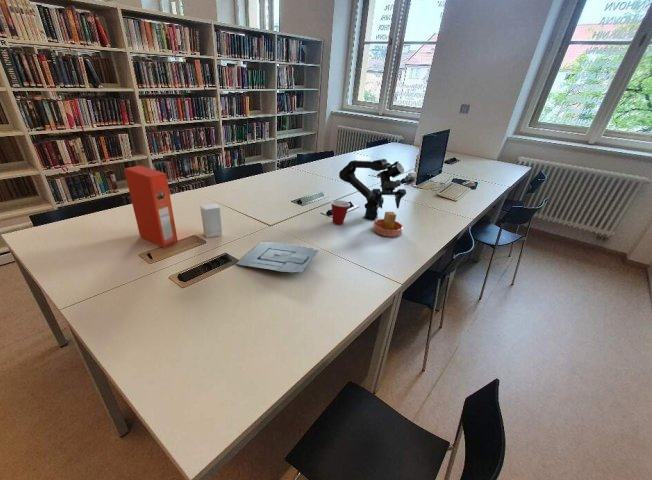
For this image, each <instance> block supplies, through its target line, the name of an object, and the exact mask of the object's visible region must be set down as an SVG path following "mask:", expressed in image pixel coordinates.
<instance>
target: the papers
mask: <svg viewBox="0 0 652 480" xmlns="http://www.w3.org/2000/svg"><path fill="white" fill-rule="evenodd" d="M319 251H320V249H314V248H313V247H307V246H304V245H298V244H293V243H292V244H291V243H283V242H276V241H263V240H261V241H260V242H259V243H258V244H257V245H256V246H254V248H253V249H252V250H251V251H250V252H248V253H247V254H246V255H245V256H243V257H242V258H240V259H239V260H238V261H236V262H235V264H234V265H239V266H244V267H252V268H258V269H265V270H271V271H276V272H281V273H286V272H287V273H291V274H292V273H294V272H296V273H303V272H304V271H305V269H306V268H307V267H308V265H309V264H310V263H311V262H312V260H313V259H314V258H315V257H316V255H317V254H318V253H319Z"/></svg>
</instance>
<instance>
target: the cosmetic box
mask: <svg viewBox="0 0 652 480" xmlns="http://www.w3.org/2000/svg"><path fill="white" fill-rule="evenodd" d="M219 206H220V205H218V203H211V204H203V205H200V206H199V208H200V215H201V223H202V228H203V234H204V236H205V238H206V239H209V238H215V237H221V236H223V227H222V217H221V208H220V207H219Z"/></svg>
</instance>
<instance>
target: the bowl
mask: <svg viewBox="0 0 652 480" xmlns="http://www.w3.org/2000/svg"><path fill="white" fill-rule="evenodd" d="M383 220H384V218H379V219H375V220H374V221H373V225H372V230H373V232H374V233H375V234H377V235H380V236H382V237H383V236H384V237H389V238H395V237H399V236H401V235H402V233H403V224H401V222H399V221H397V220H395V224H394V228H393V230H386V229H382V225H383Z"/></svg>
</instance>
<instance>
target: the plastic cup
mask: <svg viewBox="0 0 652 480" xmlns="http://www.w3.org/2000/svg"><path fill="white" fill-rule="evenodd" d="M330 204H331V218H332V223H333V224H334V225H337V226H340V225H341V226H342V225H343V224H344V222H345V219H346V216H347V213H348V210H349V207H350V206H351V203H350V202H348V201H345V200H341V199H335V200H333V199H332V200H331V201H330Z"/></svg>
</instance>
